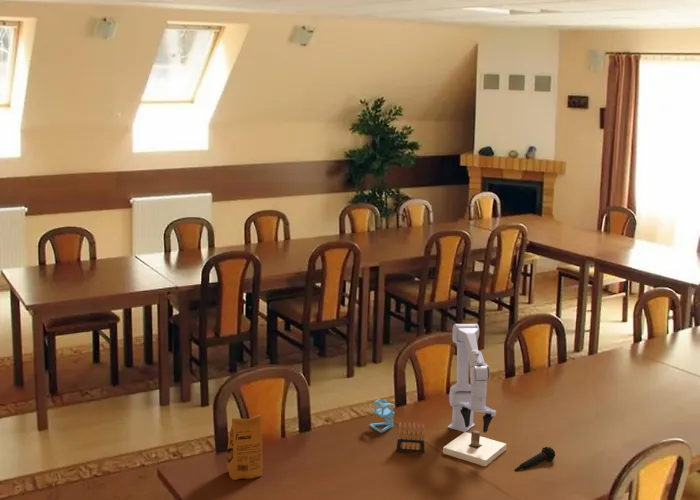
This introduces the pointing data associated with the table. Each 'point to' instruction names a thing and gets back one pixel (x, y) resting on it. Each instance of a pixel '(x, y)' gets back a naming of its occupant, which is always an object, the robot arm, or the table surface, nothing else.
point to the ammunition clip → (411, 438)
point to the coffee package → (245, 448)
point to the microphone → (538, 458)
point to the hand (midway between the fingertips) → (476, 429)
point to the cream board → (474, 449)
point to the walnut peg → (475, 439)
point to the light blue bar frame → (383, 415)
